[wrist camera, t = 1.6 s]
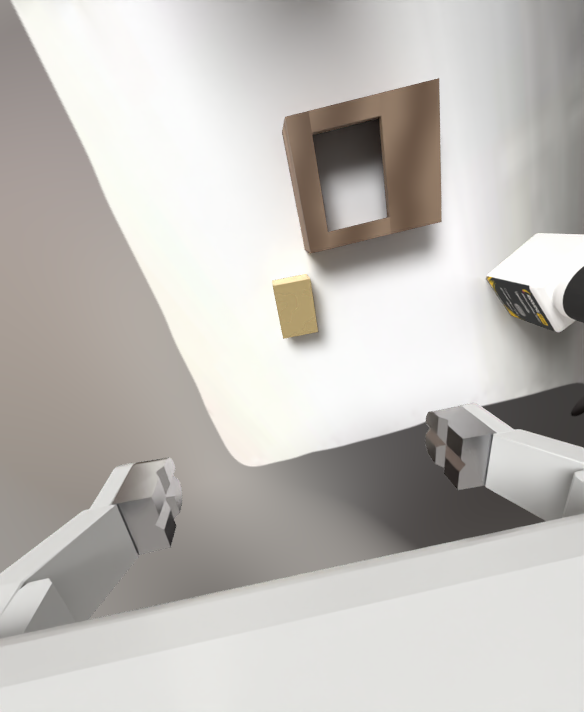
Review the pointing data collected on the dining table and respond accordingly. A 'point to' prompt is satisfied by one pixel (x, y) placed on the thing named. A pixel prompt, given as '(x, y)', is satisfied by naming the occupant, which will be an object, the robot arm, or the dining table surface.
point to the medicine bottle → (543, 280)
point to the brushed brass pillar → (295, 305)
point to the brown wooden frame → (399, 155)
